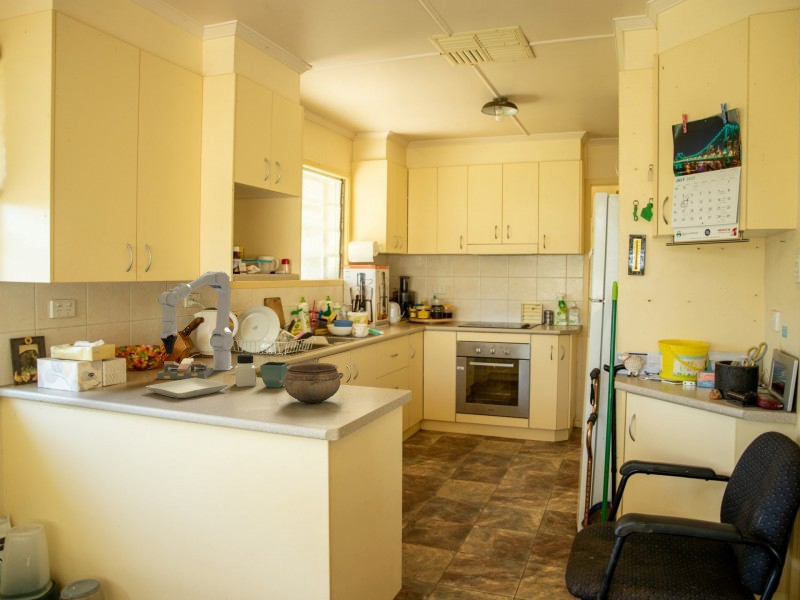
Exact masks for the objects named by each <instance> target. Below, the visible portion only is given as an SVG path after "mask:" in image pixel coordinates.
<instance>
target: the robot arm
mask: <svg viewBox="0 0 800 600" xmlns="http://www.w3.org/2000/svg"><path fill="white" fill-rule="evenodd" d="M205 285H207V286H208V287H211V288H213V289H214V290H215V291H216V293H217V304H216V305H217V306H216V320H215V328H214V329H213V330H212V333H211V336H210V339H209V345H210V346H211V347H212V350H213V355H212V356H213V367H212V368H213V371H231V370H232V369H233V368H234V366H232V352H231V350H232V348H233V346H234V341H235V340H234V338H233V337H234V336H233V332H232V331H231V329H230V328H229V326H230V313H231V312H230V311H231V310H230V309H231V299H232V298H231V297H232V295H231V294H232V288H231V284H230V276H229V275H228V274H227V272H225V271H222V270H221V271H209V270H208V271H206V272H203V273H202V274H201V275H200V276H199V277H197V278H195V279H193V280H192V281H190V282H188V283H185V282H184V283H182V282H180V283H178V284H177V286H176V287H174V288H169V289H168V290H169V291H164V292H162V293H161V294H160V295H159V298H158V303H159V305H160V309H161V331H159V332H158V334H160V340H161V341H162V344H163V346H164V350H165V354H166V355H172V354H174V349H175V344H176V341H177V340H178V336H177V335H178V330H177V306H178V305H179V303H180V301H182V300H184V299H186V298H187V297H189V296H191V295H192V291H195V290H197V289H199V288H200V287H203V286H205Z"/></svg>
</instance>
